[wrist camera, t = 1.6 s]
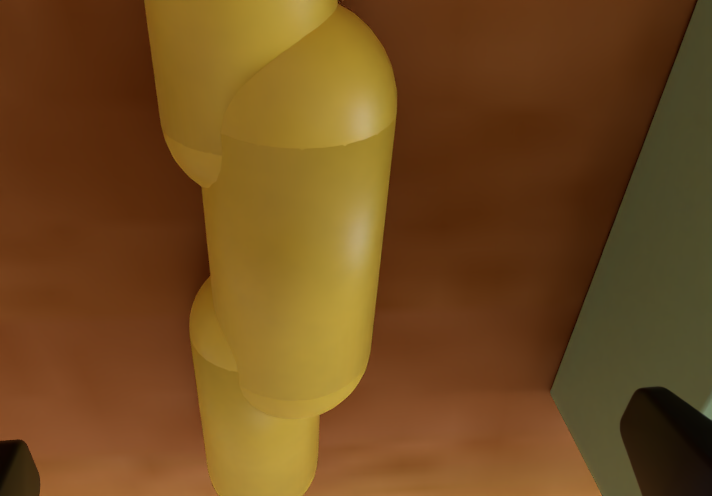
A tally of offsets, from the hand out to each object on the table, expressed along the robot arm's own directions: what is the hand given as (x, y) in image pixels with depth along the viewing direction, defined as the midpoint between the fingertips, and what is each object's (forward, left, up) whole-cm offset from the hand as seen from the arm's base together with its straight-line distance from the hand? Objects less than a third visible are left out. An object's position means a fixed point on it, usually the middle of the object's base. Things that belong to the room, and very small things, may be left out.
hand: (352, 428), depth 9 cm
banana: (0, +1, -7) cm, 7 cm away
